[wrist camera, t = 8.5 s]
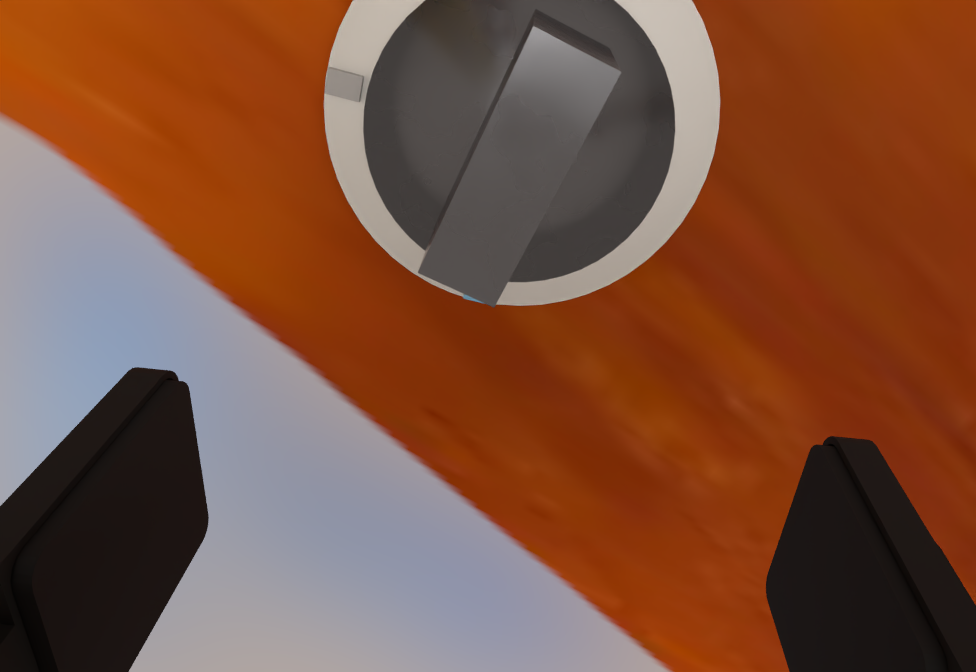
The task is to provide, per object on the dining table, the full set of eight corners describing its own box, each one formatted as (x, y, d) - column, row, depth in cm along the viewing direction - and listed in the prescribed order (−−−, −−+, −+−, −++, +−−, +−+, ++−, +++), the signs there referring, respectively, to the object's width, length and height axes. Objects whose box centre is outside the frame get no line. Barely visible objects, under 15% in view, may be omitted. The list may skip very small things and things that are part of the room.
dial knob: (442, -97, 27) (413, -102, 21) (730, 59, 29) (776, 93, 23) (330, 195, 32) (284, 254, 27) (577, 310, 34) (584, 388, 28)
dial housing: (767, -34, 30) (791, -29, 27) (634, 312, 38) (641, 344, 35) (373, -146, 29) (354, -153, 26) (319, 233, 37) (300, 259, 34)
